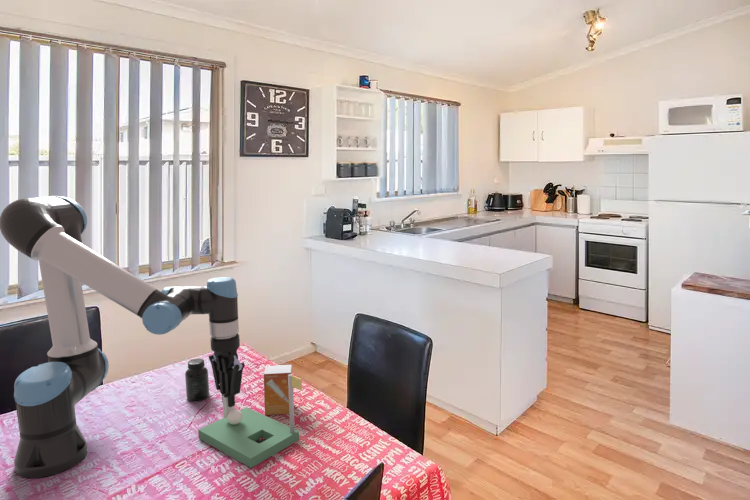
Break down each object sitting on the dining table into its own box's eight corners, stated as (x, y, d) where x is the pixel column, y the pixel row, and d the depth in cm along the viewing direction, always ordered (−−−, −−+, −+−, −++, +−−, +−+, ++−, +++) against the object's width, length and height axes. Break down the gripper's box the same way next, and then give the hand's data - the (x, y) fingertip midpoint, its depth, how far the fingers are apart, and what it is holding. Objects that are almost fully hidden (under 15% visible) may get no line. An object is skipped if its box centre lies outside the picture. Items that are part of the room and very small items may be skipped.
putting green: (198, 438, 132) (194, 373, 129) (247, 415, 145) (244, 355, 142) (259, 472, 117) (255, 399, 114) (307, 443, 130) (305, 377, 127)
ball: (224, 423, 135) (224, 410, 134) (236, 417, 138) (236, 404, 137) (233, 429, 132) (233, 416, 132) (245, 423, 136) (245, 410, 135)
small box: (264, 415, 144) (263, 374, 142) (266, 405, 151) (264, 365, 149) (292, 414, 146) (291, 372, 144) (293, 404, 152) (292, 364, 150)
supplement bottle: (187, 393, 159) (185, 358, 157) (209, 391, 161) (207, 356, 159) (186, 403, 152) (183, 366, 150) (209, 400, 154) (207, 363, 152)
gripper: (251, 335, 132) (255, 417, 136) (221, 326, 140) (226, 404, 143) (228, 343, 126) (232, 429, 130) (198, 333, 134) (203, 414, 138)
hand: (229, 416), depth 137 cm, fingers closed
